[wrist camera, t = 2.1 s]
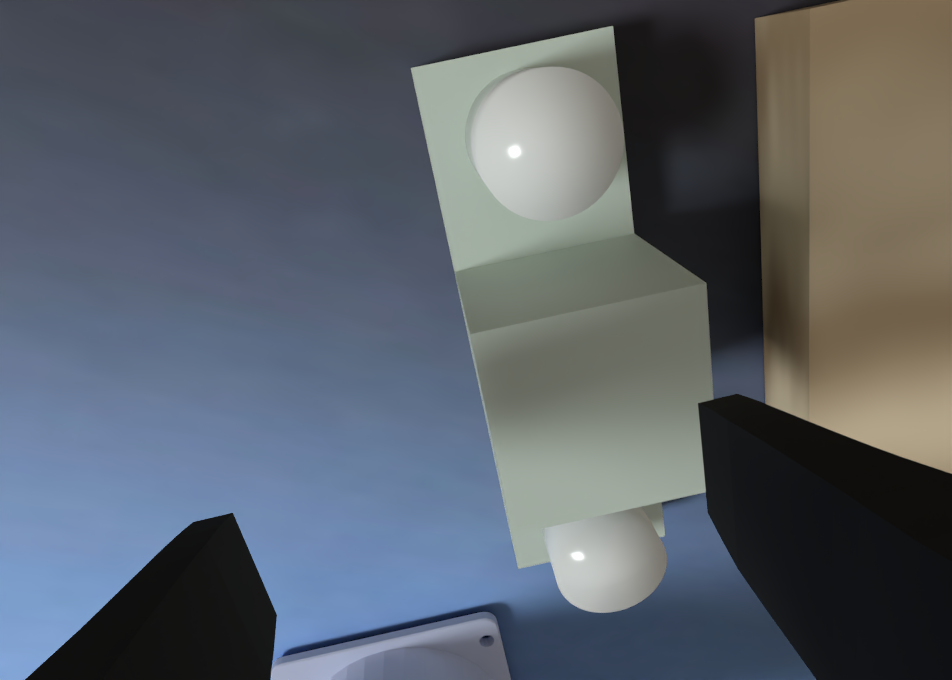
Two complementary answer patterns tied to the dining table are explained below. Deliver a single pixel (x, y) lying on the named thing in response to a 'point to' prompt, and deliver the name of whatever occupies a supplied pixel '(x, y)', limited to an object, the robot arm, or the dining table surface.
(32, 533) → the dining table surface
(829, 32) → the shelf board
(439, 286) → the dining table surface
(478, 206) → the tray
